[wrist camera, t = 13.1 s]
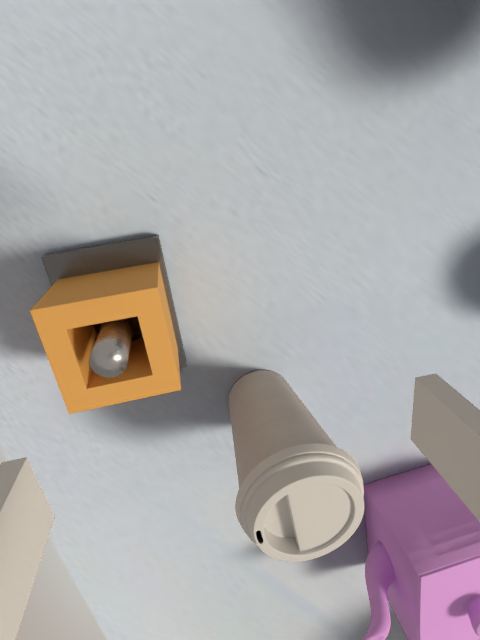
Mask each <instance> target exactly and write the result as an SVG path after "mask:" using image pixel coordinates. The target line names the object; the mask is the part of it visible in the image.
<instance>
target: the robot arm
mask: <svg viewBox="0 0 480 640" xmlns="http://www.w3.org/2000/svg"><path fill="white" fill-rule="evenodd" d="M411 440H412V441H413V442H414V444H415V445H416V446H417V447H418V448H419V450H420V451H421V452H422V453H423V454H424V456H425V457H426V458H427V459H428V460H429V462H430V463H431V464H432V465H433V466H434V468H435V469H436V470H437V471H438V472H439V474H440V475H441V476H442V477H443V478H444V480H445V481H446V482H447V483H448V484H449V486H450V487H451V488H452V489H453V490H454V492H455V493H456V494H457V495H458V496H459V498H460V499H461V500H462V501H463V502H464V504H465V505H466V506H467V507H468V509H469V510H470V511H471V512H472V513H473V515H474V516H475V517H476V518H477V519H478V521H479V522H480V410H479V409H478V408H476V407H475V406H474V405H473V404H472V403H470V402H469V401H468V400H467V399H466V398H464V397H463V396H462V395H461V394H460V393H458V392H457V391H456V390H455V389H454V388H452V387H451V386H450V385H449V384H448V383H446V382H445V381H444V380H443V379H442V378H441V377H439V376H438V375H437V374H432V375H427V376H422V377H417V378H415V389H414V402H413V415H412V428H411ZM54 519H55V516H54V514H53V512H52V510H51V508H50V506H49V504H48V501H47V499H46V497H45V495H44V493H43V491H42V489H41V487H40V484H39V482H38V480H37V478H36V476H35V474H34V472H33V470H32V468H31V465H30V463H29V461H28V459H27V457H26V458H21V459H16V460H12V461H7V462H2V463H1V465H0V640H15V638H16V635H17V632H18V629H19V626H20V623H21V620H22V617H23V614H24V611H25V607H26V604H27V601H28V598H29V595H30V592H31V589H32V586H33V583H34V580H35V577H36V574H37V571H38V568H39V565H40V562H41V558H42V555H43V553H44V549H45V546H46V543H47V540H48V537H49V534H50V531H51V528H52V525H53V522H54Z"/></svg>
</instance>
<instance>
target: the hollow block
mask: <svg viewBox="0 0 480 640" xmlns="http://www.w3.org/2000/svg"><path fill="white" fill-rule="evenodd" d="M30 312H31V315H32V318H33V320H34V323H35V326H36V328H37V331H38V333H39V336H40V339H41V341H42V344H43V347H44V349H45V352H46V354H47V357H48V360H49V362H50V365H51V368H52V370H53V373H54V375H55V378H56V381H57V383H58V386H59V389H60V391H61V394H62V396H63V399H64V402H65V404H66V407H67V410H68V412H69V414H72V413H76V412H81V411H86V410H90V409H95V408H100V407H104V406H109V405H114V404H118V403H123V402H128V401H132V400H137V399H142V398H146V397H151V396H156V395H160V394H165V393H170V392H174V391H179V390H181V381H180V369H179V357H178V347H177V342H176V338H175V333H174V329H173V324H172V319H171V315H170V310H169V306H168V301H167V297H166V292H165V288H164V283H163V279H162V274H161V270H160V265H159V262H156V263H150V264H144V265H138V266H132V267H127V268H121V269H115V270H109V271H104V272H98V273H92V274H86V275H80V276H75V277H69V278H63V279H58V280H57V281H56V282H55V283H54V284H53V285H52V286H51V287H50V289H49V290H48V291H47V292H46V293H45V294H44V295H43V296H42V297H41V299H40V300H39V301H38V302H37V303H36V304H35V305H34V306H33V307H32V309H31V310H30ZM136 316H138V320H139V324H140V327H141V331H142V335H143V337H141V338H137V339H135V340H134V341H131V346H130V352H129V357H128V363H127V367H126V369H125V370H124V372H122V373H121V374H120V375H118V376H115V377H109V378H108V377H102V376H100V375H98V374H96V373H95V372H94V371H93V370H92V369H91V367H90V364H89V358H90V355H91V352H92V349H93V347H94V344H95V342H96V339H97V336H98V333H97V331H96V330H95V328H94V326H93V324H99V323H104V322H109V321H114V320H120V319H125V318H130V317H136Z"/></svg>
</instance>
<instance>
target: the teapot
mask: <svg viewBox="0 0 480 640" xmlns="http://www.w3.org/2000/svg"><path fill="white" fill-rule="evenodd" d="M363 486H364V509H365V522H366V534H367V547H368V556H367V559H366V564H365V578H366V585H367V590H368V595H369V600H370V607H371V623H370V626H369V629H368V632H367V633H366V635H365V636H364V638H363V639H362V640H385V638H386V637H387V636H388V633H389V630H390V625H391V618H390V611H389V606H388V601H389V603H390V605H391V607H392V609H393V610H394V612H395V614H396V616H397V618H398V620H399V622H400V624H401V626H402V628H403V630H404V632H405V634H406V636H407V638H408V640H478V639H480V522H479V521H478V519H477V518H476V517H475V516H474V515H473V513H472V512H471V511H470V510H469V509H468V507H467V506H466V505H465V504H464V502H463V501H462V500H461V499H460V498H459V496H458V495H457V494H456V493H455V492H454V490H453V489H452V488H451V487H450V486H449V484H448V483H447V482H446V481H445V480H444V478H443V477H442V476H441V475H440V474H439V472H438V471H437V470H436V469H435V468H434V466H433V465H432V464H428V465H425V466H422V467H419V468H415V469H412V470H409V471H406V472H402V473H399V474H396V475H392V476H389V477H386V478H383V479H379V480H376V481H373V482H370V483H366V484H363ZM387 599H388V600H387Z"/></svg>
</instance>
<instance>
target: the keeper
mask: <svg viewBox="0 0 480 640" xmlns="http://www.w3.org/2000/svg"><path fill="white" fill-rule="evenodd" d="M42 260H43V263H44V266H45V269H46V271H47V274H48V277H49V280H50V283H51V286H52V285H53V284H54V283H55V282H56V281H57V280H58V279H63V278H69V277H75V276H80V275H86V274H92V273H98V272H104V271H109V270H115V269H121V268H127V267H132V266H138V265H144V264H150V263H156V262H159V265H160V270H161V274H162V279H163V283H164V288H165V292H166V297H167V301H168V306H169V310H170V315H171V319H172V324H173V329H174V333H175V338H176V342H177V347H178V357H179V368H182V367H187V364H186V358H185V353H184V349H183V344H182V339H181V335H180V330H179V326H178V321H177V317H176V312H175V308H174V303H173V299H172V294H171V290H170V285H169V281H168V276H167V271H166V267H165V262H164V258H163V253H162V249H161V244H160V240H159V235H155V236H149V237H143V238H137V239H131V240H125V241H119V242H113V243H107V244H101V245H96V246H90V247H84V248H78V249H72V250H66V251H60V252H54V253H48V254H45V255H44V256H43V257H42ZM93 326H94V328H95V330H96V331H97V333H98V336H97V339H96V342H95V344H94V347H93V349H92V352H91V355H90V358H89V364H90V367H91V369H92V370H93V371H94V372H95V373H96V374H98V375H100V376H102V377H108V378H109V377H115V376H118V375H120V374H121V373H122V372H124V370H125V369H126V367H127V363H128V357H129V352H130V346H131V341H134V340H135V339H137V338H141V337H143V335H142V331H141V327H140V324H139V320H138V316H136V317H130V318H125V319H120V320H114V321H109V322H104V323H99V324H93Z"/></svg>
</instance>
